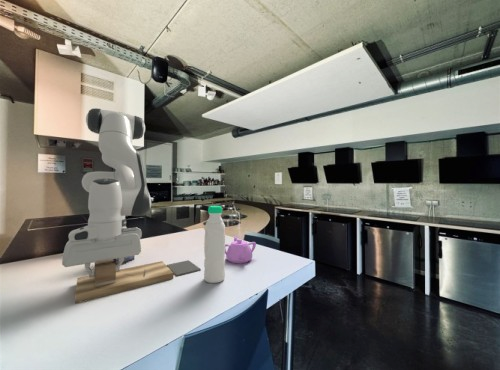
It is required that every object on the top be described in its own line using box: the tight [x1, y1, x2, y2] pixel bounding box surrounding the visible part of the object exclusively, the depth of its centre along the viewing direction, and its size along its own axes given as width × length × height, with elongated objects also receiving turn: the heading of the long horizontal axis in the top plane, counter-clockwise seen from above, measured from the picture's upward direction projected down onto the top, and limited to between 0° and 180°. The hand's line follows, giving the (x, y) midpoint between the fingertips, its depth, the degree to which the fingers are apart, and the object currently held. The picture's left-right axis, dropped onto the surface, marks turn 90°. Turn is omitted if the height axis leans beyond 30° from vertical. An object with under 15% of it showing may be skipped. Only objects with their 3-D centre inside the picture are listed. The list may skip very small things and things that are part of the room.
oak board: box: [74, 260, 175, 304], centre depth 70 cm, size 14×26×2 cm, turn 128°
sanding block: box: [93, 259, 116, 287], centre depth 66 cm, size 9×5×5 cm, turn 38°
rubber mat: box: [166, 260, 202, 277], centre depth 82 cm, size 12×9×1 cm
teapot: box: [225, 235, 257, 264], centre depth 92 cm, size 12×14×9 cm
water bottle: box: [203, 205, 226, 284], centre depth 72 cm, size 7×7×25 cm
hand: (104, 274), depth 66 cm, fingers closed on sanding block, 5 cm apart
